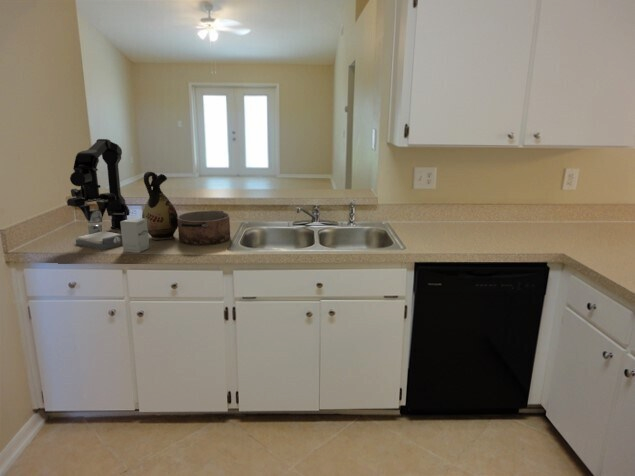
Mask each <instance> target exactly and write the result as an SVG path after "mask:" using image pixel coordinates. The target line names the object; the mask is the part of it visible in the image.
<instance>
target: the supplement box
mask: <svg viewBox="0 0 635 476" xmlns="http://www.w3.org/2000/svg"><path fill="white" fill-rule="evenodd" d="M120 224H121V229H120V231H121V233H120V234H122V243H123V245H122V251H123V252H125V253H135V254H137V253H138V254H140V253H141V252H143V251H145V250H148V249H150V242H149V241H150V240H149V233H148V227H147V219H143V218H142V217H139V218H138V217H130V218H127V220H124V221H121V222H120Z"/></svg>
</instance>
